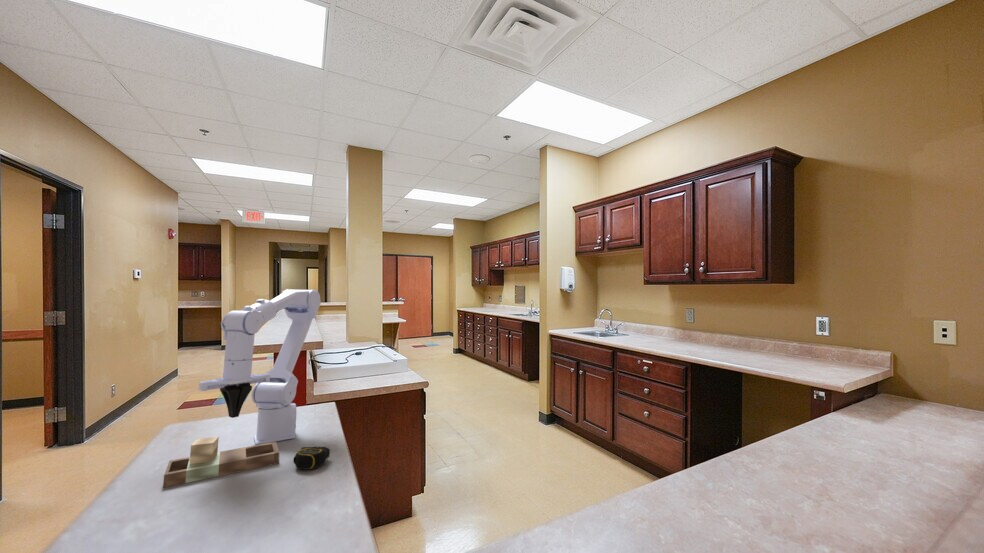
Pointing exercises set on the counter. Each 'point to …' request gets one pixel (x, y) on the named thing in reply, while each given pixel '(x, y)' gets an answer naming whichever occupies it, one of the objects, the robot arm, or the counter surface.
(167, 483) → the frame
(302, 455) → the tape measure
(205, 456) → the beech block
